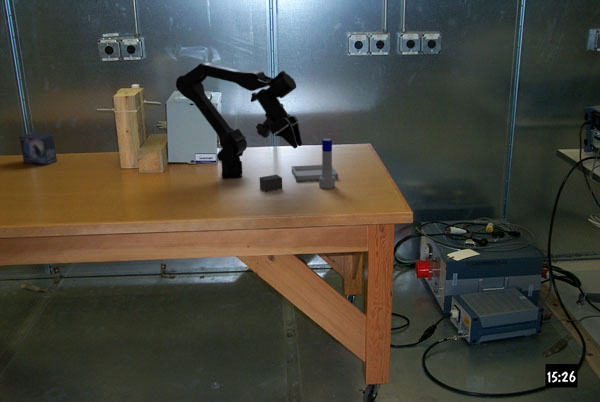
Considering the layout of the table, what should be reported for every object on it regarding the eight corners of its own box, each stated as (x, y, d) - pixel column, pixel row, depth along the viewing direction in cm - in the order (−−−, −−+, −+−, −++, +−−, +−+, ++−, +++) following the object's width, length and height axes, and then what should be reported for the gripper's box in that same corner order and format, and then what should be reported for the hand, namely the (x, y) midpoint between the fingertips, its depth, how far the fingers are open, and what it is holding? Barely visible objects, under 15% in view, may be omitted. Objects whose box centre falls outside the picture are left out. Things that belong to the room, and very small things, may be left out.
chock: (265, 192, 197) (264, 180, 196) (260, 189, 201) (259, 177, 199) (282, 189, 200) (282, 177, 199) (276, 186, 203) (276, 174, 202)
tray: (296, 181, 207) (296, 176, 206) (291, 171, 218) (291, 166, 217) (337, 179, 209) (337, 173, 208) (331, 169, 220) (331, 164, 219)
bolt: (333, 189, 199) (317, 188, 200) (336, 184, 203) (321, 184, 204) (333, 141, 194) (317, 141, 195) (336, 138, 198) (320, 137, 199)
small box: (22, 164, 232) (18, 136, 228) (34, 159, 238) (30, 132, 234) (46, 166, 229) (42, 138, 226) (57, 161, 235) (54, 134, 231)
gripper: (258, 118, 211) (283, 157, 212) (244, 121, 193) (272, 163, 194) (285, 100, 209) (310, 139, 210) (273, 101, 191) (301, 143, 191)
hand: (298, 146), depth 201 cm, fingers open, 9 cm apart
